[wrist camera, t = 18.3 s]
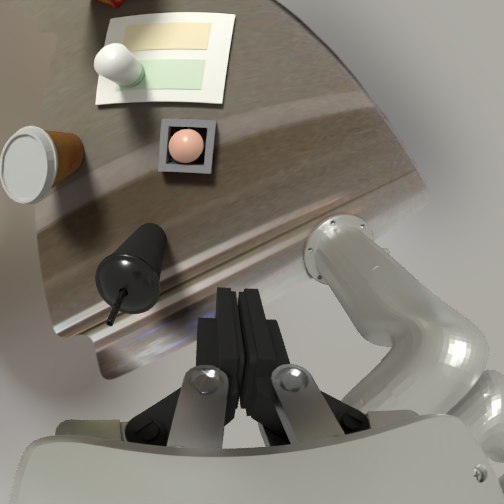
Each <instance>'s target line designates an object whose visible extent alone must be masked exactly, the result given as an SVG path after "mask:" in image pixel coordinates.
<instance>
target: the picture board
mask: <svg viewBox="0 0 504 504" xmlns="http://www.w3.org/2000/svg"><path fill="white" fill-rule="evenodd" d="M234 20H235V15H233V14H221V13H199V12H177V13H155V14H143V15H133V16H125V17H118V18H112V19H110V23H109V27H108V31H107V35H106V40H105V44H104V47H105V46H107V45H109V44H112V43H120V44H122V45H124V46H125V47H126V48H127V49H128V50H129V51H130V52H131V53H132V54H133V56H134V57H135V58H136V59H137V60H138V61H139V62H140V63H141V64H142V65H143V67H144V70H145V74H144V78H143V79H142V81H141V82H140V83H139V84H138V85H136V86H135V87H132V88H124V87H122V86H120V85H118V84H116V83H115V82H113V81H111V80H109V79H107V78H105V77H103V76H101V75H99V79H98V86H97V94H96V103H95V105H104V104H117V103H135V102H194V103H212V104H222V101H223V93H224V86H225V78H226V71H227V64H228V57H229V50H230V44H231V38H232V32H233V25H234Z"/></svg>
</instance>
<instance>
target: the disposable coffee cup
mask: <svg viewBox="0 0 504 504" xmlns="http://www.w3.org/2000/svg"><path fill="white" fill-rule="evenodd" d="M83 157H84V147H83V144H82V142H81V140H80V138H79V137H78V136H76V135H74V134H71V133H63V132H56V131H47V130H43V129H41V128H39V127H36V126H26V127H24V128H21V129H20V130H18V131H17V132H16V133H15V134H14V135H13V136H11V137H10V139H9V140H8V141H7V142H6V144H5V146H4V148H3V151H2V154H1V157H0V178H1V182H2V185H3V188H4V190H5V191H6V193H7V194H8V196H9V197H10V198H11V199H13V200H14V201H16V202H18V203H25V204H34V203H37V202H39V201H41V200H42V199H43V198H44V197H45V196H46V195H47V194H48V192H49V191H50V189H52V188H53V187H54V186H55V185H57V184H58V183H59V182H61V181H62V180H63V179H65V178H66V177H67V176H69V175H70V174H72V173H73V172H75V171H76V170H77V169H78V168H79V167H80V165H81V163H82V161H83Z"/></svg>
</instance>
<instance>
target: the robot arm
mask: <svg viewBox="0 0 504 504" xmlns="http://www.w3.org/2000/svg"><path fill="white" fill-rule="evenodd" d="M331 221H332V222H331ZM309 248H310V249H309ZM389 253H390V252H389V249H387V248H381V247H380V246H378V245H377V244H376V243H375V242H374V239H373V234H372V232H371V229H370V228H369V226H368V225H367V224H366V223H365V222H364V221H363V220H362V219H360V218H359V217H357V216H354V215H351V214H337V215H333V216H330V217H328V218H326V219H324V220H323V221H322V222H320V223H319V224H318V225H317V226H316V227H315V228H314V229H313V230H312V232H311V233H310V234H309V236H308V238H307V240H306V243H305V247H304V254H303V257H304V263H305V266H306V269H307V270H308V272H309V274H310V275H311V276H312V277H313V278H314V279H315V280H316V281H318V282H320V283H323V284H327V285H329V286H330V288H331V290H332V291H333V293H334V294H335V296H336V297H337V299H338V300H339V302H340V303H341V305H342V307H343V308H344V310H345V311H346V313H347V314H348V316H349V317H350V319H351V321H352V322H353V324H354V325H355V327H356V329H357V330H358V332H359V333H360V334H361V336H363V338H365V339H366V340H367V341H369V342H371V343H373V344H376V345H379V346H385V347H392V348H391V350H390V351H389V352H388V353H387V355H386V356H385V357H384V358H383V359H382V360H381V362H380V363H379V364H378V365H377V366H376V367H375V368H374V369H373V370H372V371H371V372H370V373H369V374H368V375H367V376H366V377H365V378H363V379H362V380H361V381H360V382H359V383H358V384H357V385H356V386H355V387H354V388H353V389H352V390H351V391H350V392H349V393H348V394H347V395H346V396H345V397H344V398H343V399H342V400H341V401H339V400H337V399H335V398H333V397H332V396H330V395H328V394H326V393H324V392H322V391H320V390H319V388H318V386H317V384H316V383H315V381H314V379H313V377H312V376H311V374H310V373H309V372H308V371H307V370H306V369H304V368H303V367H301V366H298V365H294V364H290V362H289V358H288V355H287V352H286V349H285V345H284V342H283V339H282V336H281V333H280V329H279V326H278V323H277V321H276V320H266V318H265V314H264V310H263V306H262V302H261V299H260V295H259V291H258V289H244V292H239V297H238V305H237V298H236V292H233V291H231V288H220V287H217V300H216V317H215V318H198V330H197V353H196V366H195V367H193V368H191V369H190V370H189V371H187V372H186V374H185V376H184V379H183V383H182V387H181V388H179V389H178V390H177V391H175V392H173V393H172V394H170V395H169V396H167V397H166V398H164V399H162V400H161V401H160V402H158V403H156V404H155V405H153V406H152V407H150V408H148V409H147V410H145V411H144V412H142V413H141V414H139V415H137V416H135V417H134V418H132V419H131V420H130V421H129V422H120V420H72V419H71V420H65V421H63V422H61V423H60V424H59V425H58V426H57V428H56V432H55V436H47V437H43V438H40V439H37V440H35V441H33V442H32V443H31V444H30V445H29V446H28V447H27V448H26V450H25V452H24V453H23V455H22V457H21V459H20V462H19V464H18V467H17V470H16V473H15V477H14V481H13V485H12V489H11V494H10V500H9V504H504V474H503V475H502V476H501V477H500V478H498V479H497V477H496V475H495V473H494V471H493V468H492V467H491V464H490V462H489V460H488V458H489V459H491V460H492V461H495V462H504V375H502V374H501V373H499V372H497V371H495V370H486V371H484V369H485V367H486V364H487V360H488V355H489V348H488V343H487V340H486V338H485V336H484V334H483V333H482V331H481V330H480V329H479V328H478V327H477V326H476V325H475V324H474V323H473V322H472V321H471V320H469V319H468V318H466V317H465V316H464V315H462V314H461V313H459V312H458V311H456V310H455V309H453V308H452V307H451V306H449V305H448V304H446V303H445V302H443V301H442V300H441V299H440V298H438V297H437V296H436V295H434V294H433V293H432V292H431V291H430V290H428V289H427V288H426V287H425V286H424V285H423V284H421V283H420V282H419V281H418V280H417V279H416V278H415V277H414V276H413V275H412V274H410V273H409V272H408V271H407V270H406V269H405V268H404V267H402V265H400V264H399V263H398V262H397V261H396V260H395V259H394V258H393V257H391V256H390V255H389ZM239 397H240V405H241V408H243V409H244V408H245V409H246V413H247V416H251V418H253V419H254V420H256V421H257V422H258V425H259V430H260V432H261V435H262V438H263V440H264V443H265V446H266V447H258V448H237V449H222V444H223V435H224V426H225V425H226V424H228V423H229V422H230V421H231V420H232V419H233V418H234V414H235V409H237V407H238V401H239ZM487 457H488V458H487Z"/></svg>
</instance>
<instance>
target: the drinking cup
mask: <svg viewBox="0 0 504 504" xmlns="http://www.w3.org/2000/svg"><path fill="white" fill-rule="evenodd" d="M165 243H166V236H165V233H164V231H163V230H162V228H161V227H159V226H158V225H156V224H153V223H147V224H144V225H142V226H140V227H139V228H138V229H137V230H136V231H135V232H134V233H133V234H132V235H131V236H130V237H129V238H128V239H127V240H126V241H125V242H124V243H123V244H122V245H121V246H120V247H119V248H118V249H117V250H116V251H115V252H114V253H113V254H112V255H109V256H108V257H106V258H105V259H104V260H103V261H102V262H101V263H100V264H99V266H98V268H97V271H96V276H95V280H96V286H97V289H98V292H99V294H100V295H101V297H102V298H103V299H104V301H105V302H106V303H107V304H109V305H110V306H111V307H113V308H112V310H111V312H110V315H109V317H108V319H107V321H106V324H107V325H108V326H113V323H114V321H115V319H116V316H117V314H118V311H121V312H123V313H128V314H139V313H143V312H146V311H148V310H149V309H151V308H152V307H153V306H154V305H155V304H156V302H157V301H158V298H159V295H160V282H159V280H160V273H161V267H162V261H163V255H164V249H165Z"/></svg>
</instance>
